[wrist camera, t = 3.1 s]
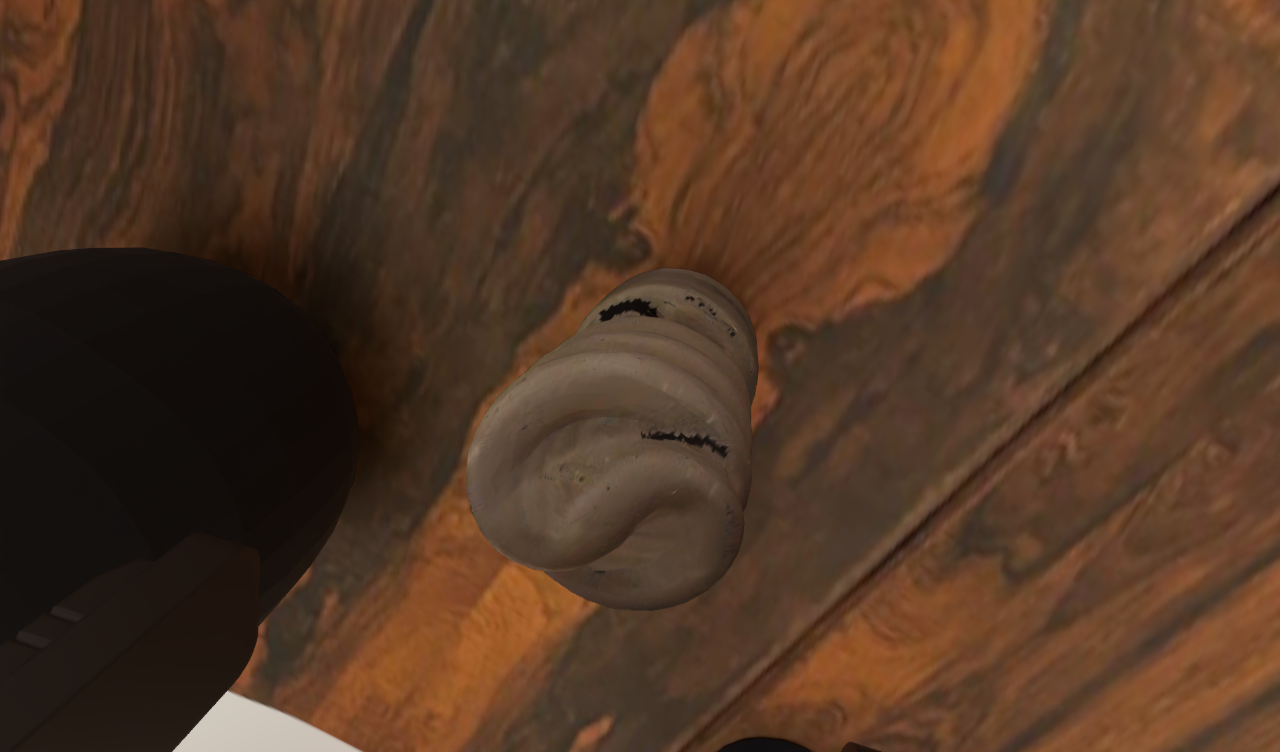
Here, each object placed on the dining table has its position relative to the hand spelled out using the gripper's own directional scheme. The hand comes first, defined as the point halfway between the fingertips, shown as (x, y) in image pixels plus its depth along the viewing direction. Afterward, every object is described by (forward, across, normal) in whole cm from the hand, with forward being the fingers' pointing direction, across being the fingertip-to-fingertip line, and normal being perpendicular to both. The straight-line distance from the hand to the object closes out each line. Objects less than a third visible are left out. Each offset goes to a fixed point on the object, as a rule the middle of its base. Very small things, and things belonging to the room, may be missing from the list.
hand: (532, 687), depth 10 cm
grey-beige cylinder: (+19, 0, 0) cm, 19 cm away
